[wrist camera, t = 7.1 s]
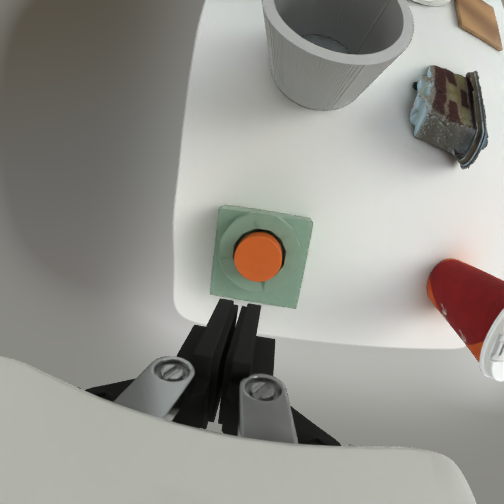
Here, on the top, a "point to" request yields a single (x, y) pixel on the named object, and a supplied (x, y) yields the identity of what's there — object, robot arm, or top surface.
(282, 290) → the button base
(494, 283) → the paper cup
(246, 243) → the power button
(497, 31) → the cork trivet
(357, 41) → the cup
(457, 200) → the top surface
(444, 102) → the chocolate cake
